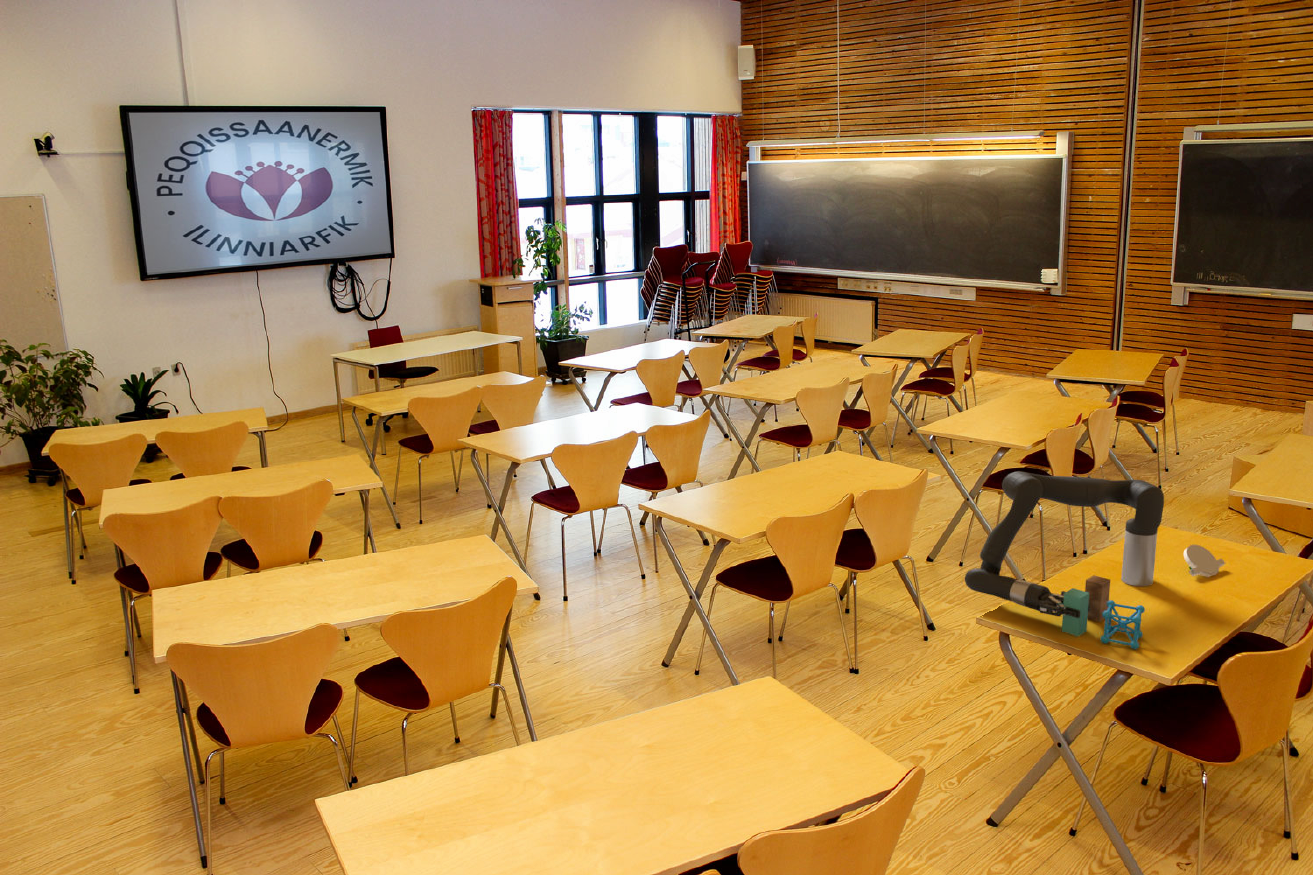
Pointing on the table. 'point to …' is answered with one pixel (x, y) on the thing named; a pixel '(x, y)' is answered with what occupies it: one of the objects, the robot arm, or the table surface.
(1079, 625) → the teal pillar
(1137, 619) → the molecular structure
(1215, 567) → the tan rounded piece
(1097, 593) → the walnut pillar
